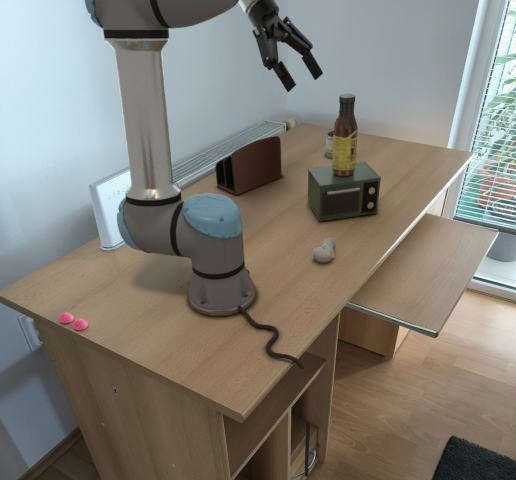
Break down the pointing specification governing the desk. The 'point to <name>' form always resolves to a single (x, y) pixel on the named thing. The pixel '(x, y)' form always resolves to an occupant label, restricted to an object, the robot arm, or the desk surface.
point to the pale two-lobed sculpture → (325, 251)
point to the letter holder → (250, 166)
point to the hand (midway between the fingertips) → (306, 82)
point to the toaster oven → (343, 192)
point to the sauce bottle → (345, 138)
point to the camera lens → (329, 144)
